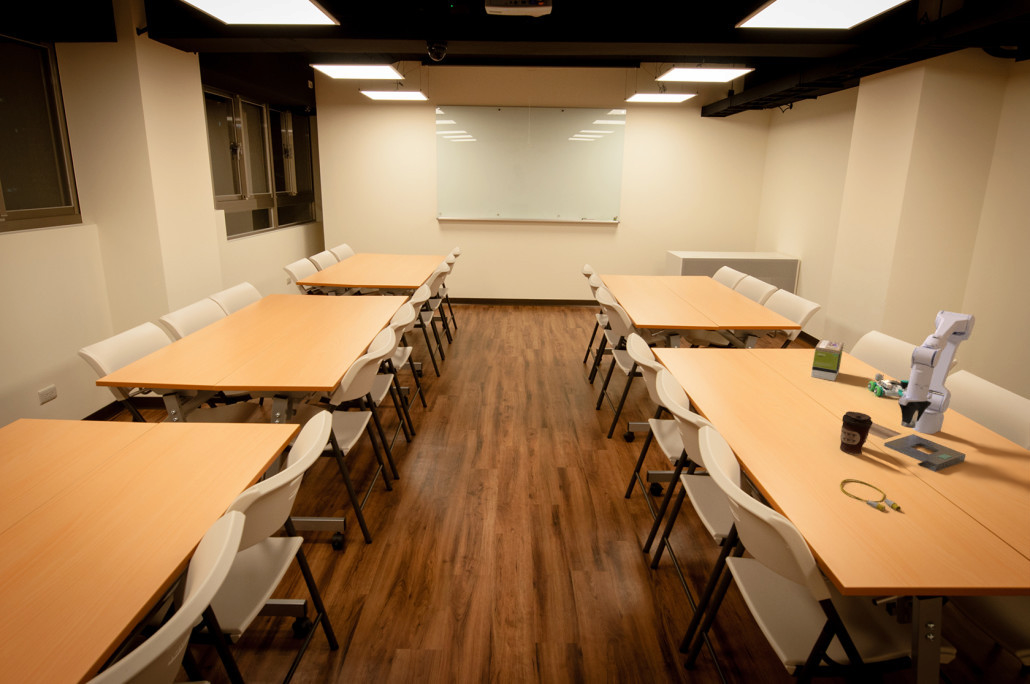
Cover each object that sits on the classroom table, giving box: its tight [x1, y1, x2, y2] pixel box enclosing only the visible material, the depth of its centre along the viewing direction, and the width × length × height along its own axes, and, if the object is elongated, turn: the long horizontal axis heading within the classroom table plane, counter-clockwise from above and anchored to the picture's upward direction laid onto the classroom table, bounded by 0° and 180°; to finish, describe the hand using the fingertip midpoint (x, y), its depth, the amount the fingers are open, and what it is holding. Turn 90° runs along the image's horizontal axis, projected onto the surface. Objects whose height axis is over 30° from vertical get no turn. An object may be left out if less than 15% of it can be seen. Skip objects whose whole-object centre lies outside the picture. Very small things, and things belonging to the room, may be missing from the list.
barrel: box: [900, 409, 919, 429], centre depth 185 cm, size 4×4×6 cm
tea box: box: [810, 339, 844, 382], centre depth 255 cm, size 15×10×15 cm, turn 144°
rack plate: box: [883, 433, 966, 473], centre depth 181 cm, size 16×16×3 cm
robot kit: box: [867, 372, 909, 398], centre depth 229 cm, size 19×25×9 cm
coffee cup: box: [839, 411, 874, 456], centre depth 182 cm, size 9×8×13 cm
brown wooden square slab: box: [868, 422, 902, 440], centre depth 196 cm, size 10×10×2 cm
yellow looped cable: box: [839, 478, 902, 512], centre depth 158 cm, size 12×16×2 cm
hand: (910, 421), depth 185 cm, fingers closed on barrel, 4 cm apart
